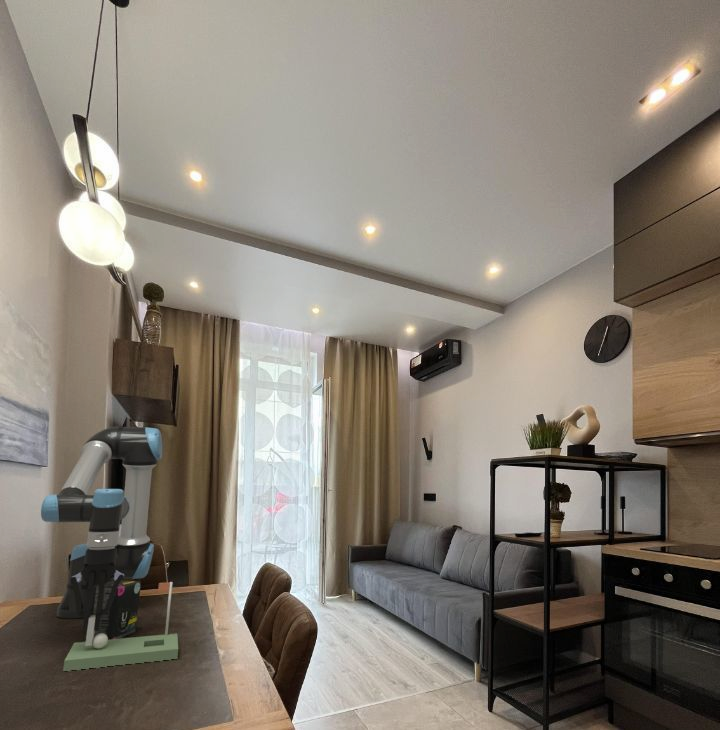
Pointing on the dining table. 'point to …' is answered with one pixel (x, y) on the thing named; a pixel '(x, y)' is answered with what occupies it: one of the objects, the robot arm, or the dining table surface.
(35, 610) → the dining table surface
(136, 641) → the mini golf green
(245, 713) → the dining table surface
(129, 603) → the tampon box
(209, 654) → the dining table surface
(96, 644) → the ball
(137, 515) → the robot arm
